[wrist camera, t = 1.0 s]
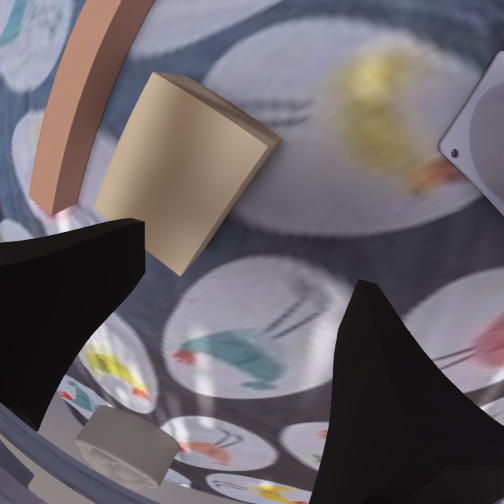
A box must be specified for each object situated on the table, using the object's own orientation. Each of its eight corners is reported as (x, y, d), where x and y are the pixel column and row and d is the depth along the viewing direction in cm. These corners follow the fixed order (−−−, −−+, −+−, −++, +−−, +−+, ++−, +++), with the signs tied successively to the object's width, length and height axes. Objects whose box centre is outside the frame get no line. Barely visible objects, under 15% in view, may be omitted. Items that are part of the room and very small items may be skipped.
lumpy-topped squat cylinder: (91, 399, 38) (60, 441, 31) (164, 421, 34) (133, 475, 27) (121, 439, 42) (97, 477, 35) (189, 460, 39) (167, 506, 31)
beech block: (283, 137, 17) (268, 146, 14) (206, 247, 22) (180, 276, 18) (187, 75, 17) (153, 72, 13) (129, 188, 21) (93, 206, 18)
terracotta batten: (180, -42, 13) (156, -58, 10) (76, 202, 23) (51, 216, 20) (147, -49, 13) (121, -62, 10) (54, 185, 23) (28, 197, 20)
